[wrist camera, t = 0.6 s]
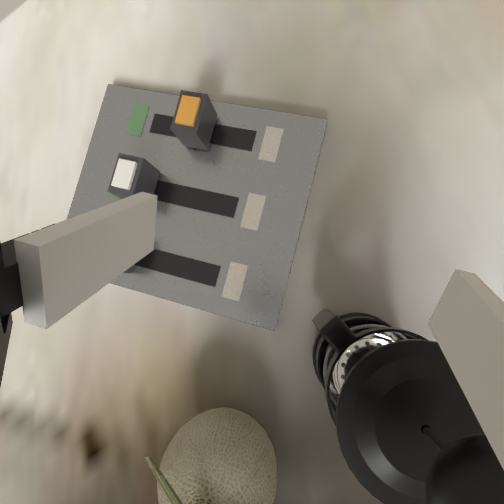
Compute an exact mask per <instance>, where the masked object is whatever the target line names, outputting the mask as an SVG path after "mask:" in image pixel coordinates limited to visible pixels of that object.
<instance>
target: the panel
mask: <svg viewBox="0 0 504 504" xmlns="http://www.w3.org/2000/svg"><path fill="white" fill-rule="evenodd" d="M179 96H180V95H173V94H167V93H161V92H155V91H148V90H142V89H136V88H130V87H123V86H117V85H111V84H108V86H107V89H106V93H105V96H104V99H103V103H102V106H101V109H100V112H99V116H98V119H97V122H96V125H95V129H94V132H93V135H92V139H91V142H90V145H89V148H88V152H87V155H86V158H85V162H84V165H83V168H82V171H81V175H80V178H79V181H78V184H77V188H76V191H75V194H74V198H73V201H72V204H71V207H70V211H69V214H68V217H67V219H70V218H73V217H76V216H78V215H81V214H84V213H86V212H89V211H92V210H94V209H97V208H100V207H102V206H105V205H108V204H110V203H113V202H116V201H118V200H121V198H119V197H117V196H115V195H113V194H111V193H109V192H107V191H108V188H109V184H110V181H111V177H112V174H113V171H114V167H115V164H116V161H117V157H118V154H119V153H122V154H127V155H132V156H137V157H142V158H144V159H146V160H147V161H148V162H149V163H151V164H152V165H153V166H154V167H155V168H157V169H158V170H159V171H160V175H159V178H158V182H157V185H156V189H155V192H154V195H157V210H156V226H155V241H154V250H153V251H152V252H150V253H149V254H148V255H146V256H145V257H143V258H142V259H141V260H139V261H138V262H137V263H135V264H134V265H133V269H132V272H131V273H122V274H120V275H119V276H118V277H116V278H115V279H114V280H112V281H111V282H110V283H111V284H115V285H118V286H121V287H125V288H128V289H132V290H135V291H139V292H142V293H146V294H149V295H152V296H156V297H159V298H163V299H166V300H170V301H173V302H177V303H180V304H183V305H187V306H190V307H194V308H197V309H201V310H204V311H208V312H211V313H214V314H218V315H221V316H225V317H228V318H232V319H235V320H239V321H242V322H246V323H249V324H252V325H256V326H259V327H263V328H266V329H270V330H273V331H275V329H276V325H277V321H278V317H279V313H280V309H281V305H282V301H283V297H284V293H285V289H286V285H287V281H288V278H289V274H290V270H291V266H292V262H293V258H294V254H295V250H296V246H297V242H298V238H299V234H300V230H301V226H302V222H303V218H304V214H305V210H306V206H307V202H308V198H309V194H310V190H311V186H312V182H313V178H314V174H315V170H316V166H317V162H318V158H319V154H320V150H321V146H322V142H323V138H324V134H325V130H326V126H327V119H323V118H317V117H310V116H304V115H298V114H292V113H286V112H279V111H273V110H267V109H261V108H254V107H248V106H242V105H236V104H229V103H223V102H217V101H211V100H210V101H211V103H212V105H213V107H214V109H215V111H216V113H217V119H216V122H215V126H214V130H213V133H212V137H211V140H210V144H209V148H208V150H203V149H198V148H193V147H187V146H184V145H183V144H182V143H181V142H180V140H179V139H178V138H177V137H176V136H175V134H174V133H173V132H172V131H171V130H170V128H171V124H172V121H173V117H174V114H175V110H176V107H177V103H178V100H179Z"/></svg>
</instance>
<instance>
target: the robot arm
mask: <svg viewBox="0 0 504 504" xmlns="http://www.w3.org/2000/svg"><path fill="white" fill-rule="evenodd" d="M156 210H157V195H153V194H149V193H145V192H140V193H137V194H134V195H132V196H129V197H126V198H124V199H121V200H118V201H116V202H113V203H110V204H108V205H105V206H102V207H100V208H97V209H94V210H92V211H89V212H86V213H84V214H81V215H78V216H76V217H73V218H70V219H67V220H65V221H62V222H59V223H57V224H53V225H50V226H47V227H45V228H42V229H41V230H36V231H34V232H31V233H30V234H29V233H28V234H26V235H23V236H20V237H18V238H15V239H12V240H10V241H7V242H4V243H0V386H1V381H2V376H3V370H4V365H5V360H6V355H7V349H8V344H9V339H10V334H11V328H12V323H13V322H12V315H11V312H13V311H14V310H16V309H18V308H19V307H21V306H23V313H24V321H25V322H26V323H29V324H33V325H36V326H39V327H42V328H45V329H47V328H49V327H50V326H52V325H53V324H54V323H56V322H57V321H58V320H60V319H61V318H62V317H64V316H65V315H66V314H68V313H69V312H70V311H72V310H73V309H75V308H76V307H77V306H79V305H80V304H81V303H83V302H84V301H85V300H87V299H88V298H89V297H91V296H92V295H93V294H95V293H96V292H98V291H99V290H100V289H102V288H103V287H104V286H106V285H107V284H108V283H110V282H111V281H112V280H114V279H115V278H116V277H118V276H119V275H120V274H122V273H123V272H125V271H126V270H127V269H129V268H130V267H131V266H133V265H134V264H135V263H137V262H138V261H139V260H141V259H142V258H143V257H145V256H146V255H148V254H149V253H150V252H152V251H153V250H154V241H155V226H156ZM428 325H429V327H430V329H431V331H432V332H433V334H434V336H435V338H436V340H437V342H438V344H439V346H440V348H441V350H442V352H443V354H444V356H445V358H446V360H447V361H448V363H449V365H450V367H451V369H452V371H453V373H454V375H455V377H456V379H457V381H458V383H459V385H460V387H461V389H462V391H463V392H464V394H465V396H466V398H467V400H468V402H469V404H470V406H471V408H472V410H473V412H474V414H475V416H476V418H477V420H478V421H479V423H480V425H481V427H482V429H483V431H484V433H485V435H486V437H487V439H488V441H489V443H490V445H491V447H492V449H493V450H494V452H495V454H496V456H497V458H498V460H499V462H500V464H501V466H502V468H503V470H504V302H503V301H502V300H501V299H500V298H499V297H498V296H497V295H496V294H495V293H494V292H493V291H492V290H491V289H490V288H489V287H488V286H487V285H486V284H485V283H484V282H483V281H482V280H481V279H480V278H479V277H478V276H477V275H476V274H473V273H469V272H465V271H461V270H457V269H455V271H454V273H453V275H452V277H451V279H450V281H449V283H448V285H447V287H446V289H445V291H444V293H443V295H442V297H441V299H440V301H439V303H438V305H437V307H436V309H435V310H434V312H433V314H432V316H431V318H430V320H429V322H428Z"/></svg>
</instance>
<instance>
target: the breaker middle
mask: <svg viewBox="0 0 504 504" xmlns="http://www.w3.org/2000/svg"><path fill="white" fill-rule="evenodd" d="M159 175H160V171H159V170H158V169H157V168H155V167H154V166H153V165H152V164H151V163H149V162H148V161H147V160H146V159H144V158H142V157H137V156H132V155H127V154H122V153H119V154H118V157H117V161H116V164H115V167H114V171H113V174H112V177H111V181H110V184H109V188H108V191H107V192H109V193H111V194H113V195H115V196H117V197H119V198H121V199H124V198H126V197H129V196H132V195H134V194H137V193H140V192H145V193H149V194H153V195H154V192H155V189H156V185H157V182H158V178H159Z"/></svg>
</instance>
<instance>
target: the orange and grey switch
mask: <svg viewBox="0 0 504 504" xmlns="http://www.w3.org/2000/svg"><path fill="white" fill-rule="evenodd" d="M216 119H217V113H216V111H215V109H214V107H213V105H212V103H211V101H210V99H209V97H208V95H207V94H201V93H195V92H189V91H182V90H181V93H180V96H179V100H178V103H177V107H176V110H175V114H174V117H173V121H172V124H171V128H170V130H171V131H172V132H173V133H174V134H175V136H176V137H177V138H178V139H179V140H180V142H181V143H182V144H183V145H184V146H187V147H193V148H198V149H203V150H208V148H209V144H210V140H211V137H212V133H213V130H214V126H215V122H216Z"/></svg>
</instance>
